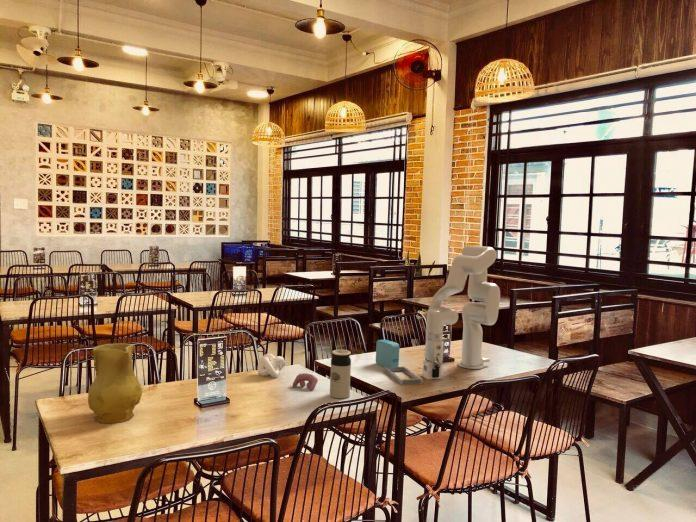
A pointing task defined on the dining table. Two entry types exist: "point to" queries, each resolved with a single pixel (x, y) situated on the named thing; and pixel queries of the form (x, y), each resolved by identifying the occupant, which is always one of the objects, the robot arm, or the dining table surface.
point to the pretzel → (270, 365)
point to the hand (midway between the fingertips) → (432, 374)
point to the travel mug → (340, 374)
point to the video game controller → (305, 377)
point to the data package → (387, 353)
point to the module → (430, 370)
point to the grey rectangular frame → (416, 379)
